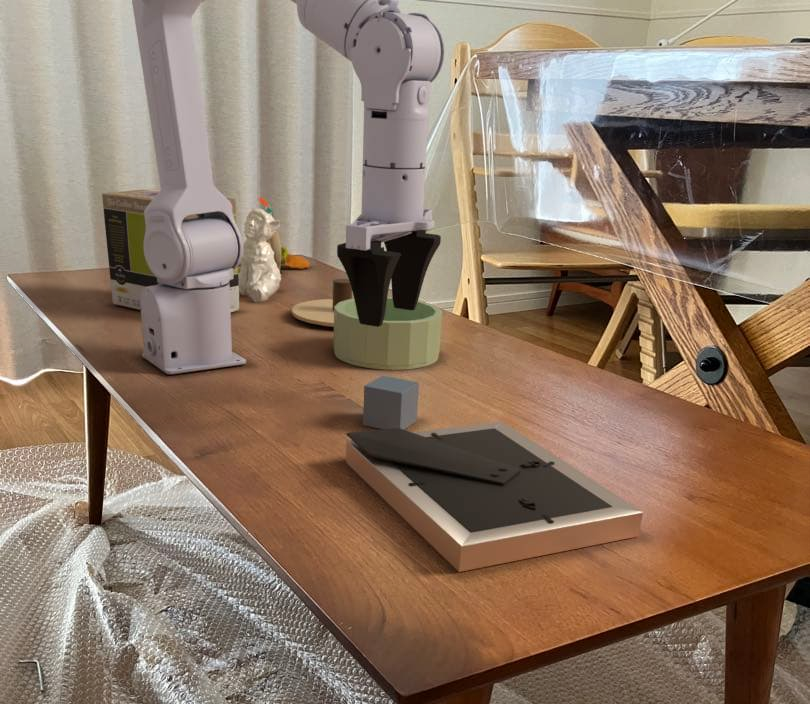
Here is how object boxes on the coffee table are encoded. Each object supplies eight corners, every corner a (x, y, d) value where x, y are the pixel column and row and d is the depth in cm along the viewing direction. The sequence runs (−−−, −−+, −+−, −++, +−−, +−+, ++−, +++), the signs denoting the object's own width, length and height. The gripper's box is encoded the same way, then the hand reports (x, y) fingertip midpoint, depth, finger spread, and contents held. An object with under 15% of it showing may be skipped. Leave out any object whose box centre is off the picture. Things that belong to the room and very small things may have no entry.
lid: (324, 336, 116) (324, 296, 114) (274, 312, 126) (273, 274, 124) (411, 325, 124) (413, 287, 121) (357, 303, 133) (358, 267, 131)
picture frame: (345, 462, 80) (458, 572, 64) (346, 432, 79) (462, 536, 62) (499, 441, 86) (638, 536, 70) (502, 413, 85) (644, 503, 69)
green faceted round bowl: (371, 375, 103) (372, 327, 100) (315, 347, 112) (315, 302, 109) (459, 361, 109) (462, 315, 107) (399, 335, 118) (401, 293, 116)
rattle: (311, 275, 149) (311, 201, 143) (260, 274, 147) (258, 199, 142) (309, 266, 155) (309, 195, 150) (260, 265, 154) (258, 193, 149)
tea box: (242, 311, 126) (238, 197, 119) (190, 324, 118) (183, 204, 111) (163, 293, 133) (155, 185, 126) (109, 305, 125) (98, 190, 118)
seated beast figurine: (211, 292, 135) (207, 206, 129) (251, 283, 141) (249, 201, 136) (258, 303, 130) (256, 215, 125) (298, 294, 136) (298, 209, 131)
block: (399, 433, 87) (401, 393, 85) (362, 425, 89) (363, 385, 87) (417, 421, 90) (419, 382, 89) (380, 413, 92) (382, 375, 90)
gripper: (400, 176, 75) (393, 339, 81) (464, 164, 87) (454, 307, 93) (325, 168, 78) (324, 327, 84) (397, 158, 89) (392, 298, 96)
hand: (388, 316), depth 89 cm, fingers open, 7 cm apart
